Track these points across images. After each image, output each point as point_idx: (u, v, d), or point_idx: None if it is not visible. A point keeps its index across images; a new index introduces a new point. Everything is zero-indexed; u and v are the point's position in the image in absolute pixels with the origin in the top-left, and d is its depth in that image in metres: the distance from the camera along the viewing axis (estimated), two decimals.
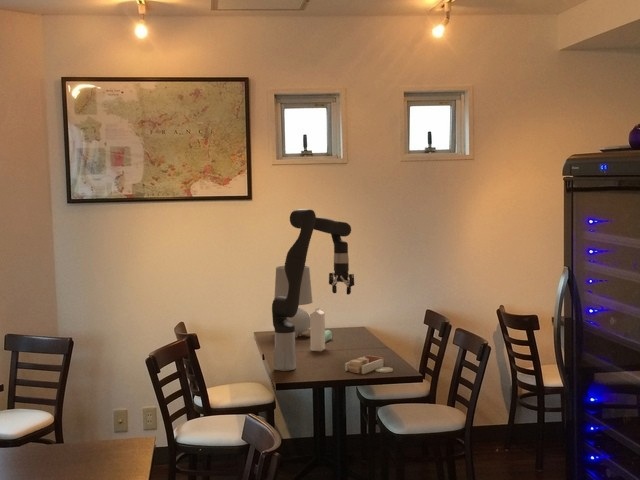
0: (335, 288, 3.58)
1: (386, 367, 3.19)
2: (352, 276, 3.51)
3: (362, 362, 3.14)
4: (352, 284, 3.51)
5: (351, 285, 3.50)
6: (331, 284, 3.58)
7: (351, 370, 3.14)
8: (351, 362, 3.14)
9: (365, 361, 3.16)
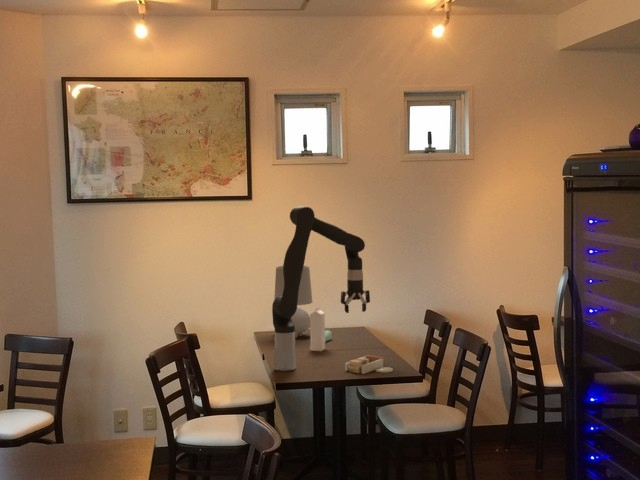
0: None
1: (386, 367, 3.19)
2: None
3: (362, 362, 3.14)
4: None
5: (369, 301, 3.39)
6: (344, 303, 3.35)
7: (351, 370, 3.14)
8: (351, 362, 3.14)
9: (365, 361, 3.16)
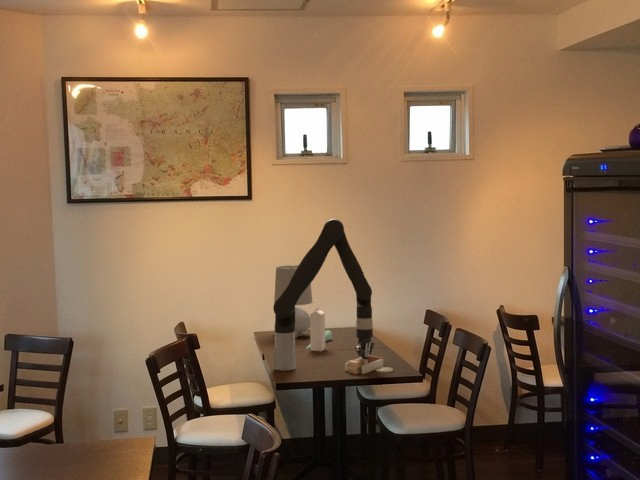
0: None
1: (386, 367, 3.19)
2: None
3: (360, 363, 3.12)
4: None
5: None
6: None
7: (349, 370, 3.13)
8: (349, 362, 3.13)
9: (363, 362, 3.14)
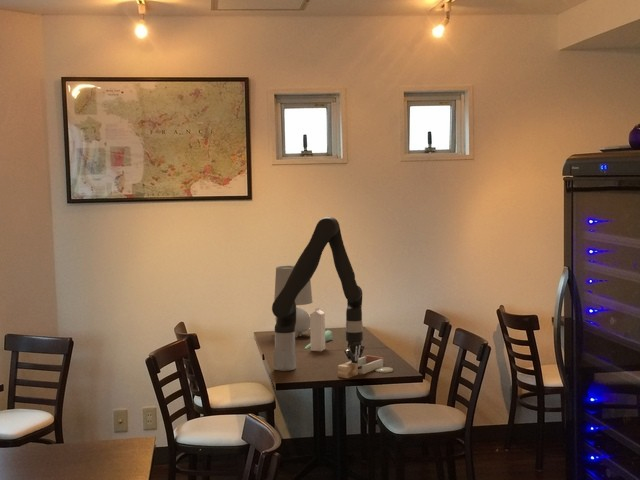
0: None
1: (386, 367, 3.19)
2: None
3: (351, 367, 3.05)
4: None
5: (360, 357, 3.15)
6: (353, 359, 3.11)
7: (339, 375, 3.06)
8: (339, 367, 3.05)
9: (354, 366, 3.07)
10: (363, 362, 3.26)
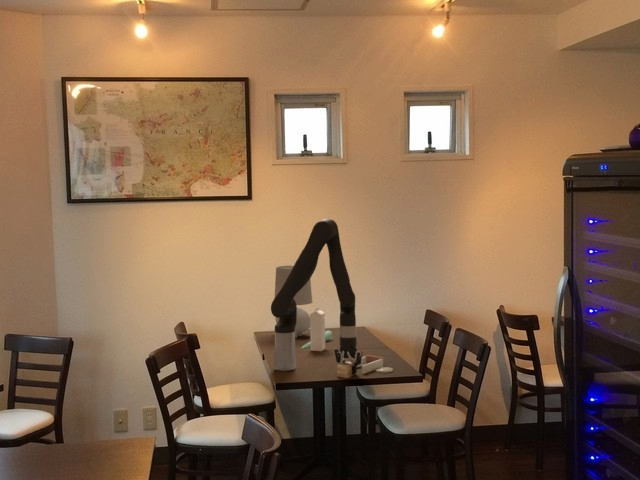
0: None
1: (386, 367, 3.19)
2: None
3: (350, 366, 3.06)
4: None
5: None
6: None
7: (339, 375, 3.06)
8: (339, 366, 3.05)
9: None
10: (363, 362, 3.26)
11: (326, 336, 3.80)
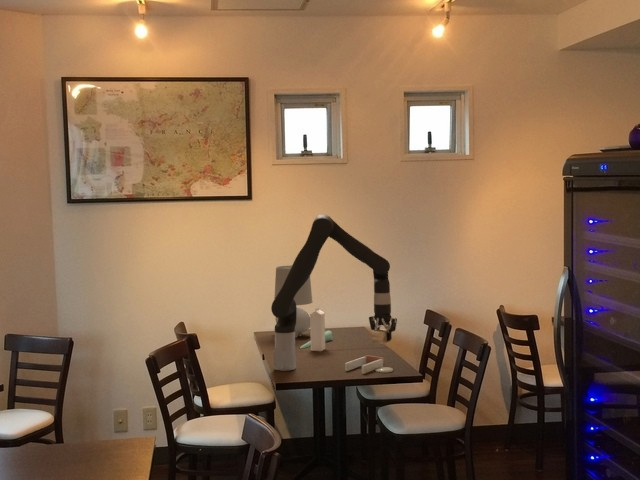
0: None
1: (386, 367, 3.19)
2: None
3: (385, 333, 3.10)
4: None
5: None
6: None
7: (374, 341, 3.10)
8: (374, 333, 3.09)
9: None
10: (363, 362, 3.26)
11: (326, 336, 3.80)
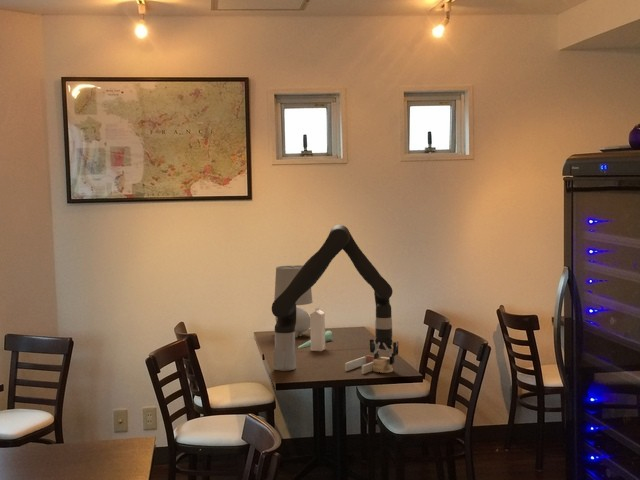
0: None
1: None
2: None
3: (386, 361, 3.11)
4: None
5: None
6: (395, 354, 3.12)
7: (375, 369, 3.12)
8: (375, 361, 3.11)
9: (389, 360, 3.13)
10: (363, 362, 3.26)
11: (325, 336, 3.79)
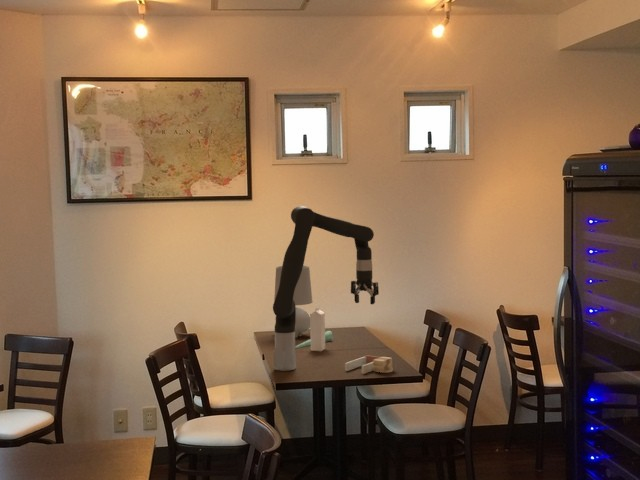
0: None
1: None
2: None
3: (386, 361, 3.12)
4: None
5: None
6: (375, 294, 3.26)
7: (375, 369, 3.12)
8: (375, 361, 3.11)
9: (389, 360, 3.14)
10: (363, 362, 3.26)
11: (325, 336, 3.79)
